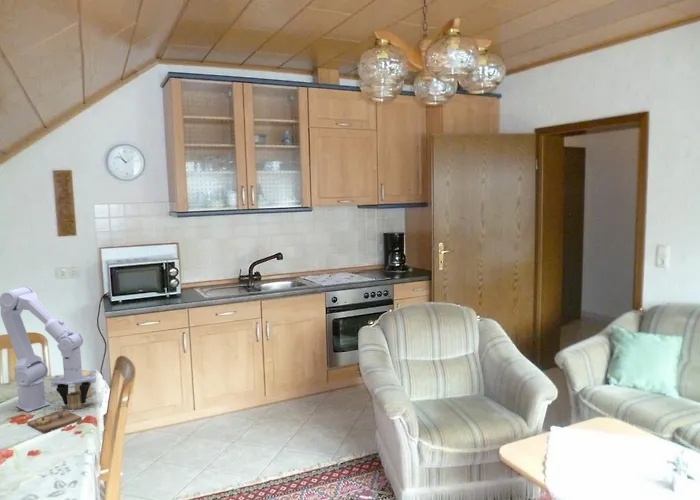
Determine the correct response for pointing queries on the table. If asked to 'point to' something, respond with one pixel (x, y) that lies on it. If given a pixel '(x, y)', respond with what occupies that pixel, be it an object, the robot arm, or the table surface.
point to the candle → (84, 373)
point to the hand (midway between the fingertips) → (75, 403)
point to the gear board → (54, 420)
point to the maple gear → (74, 400)
